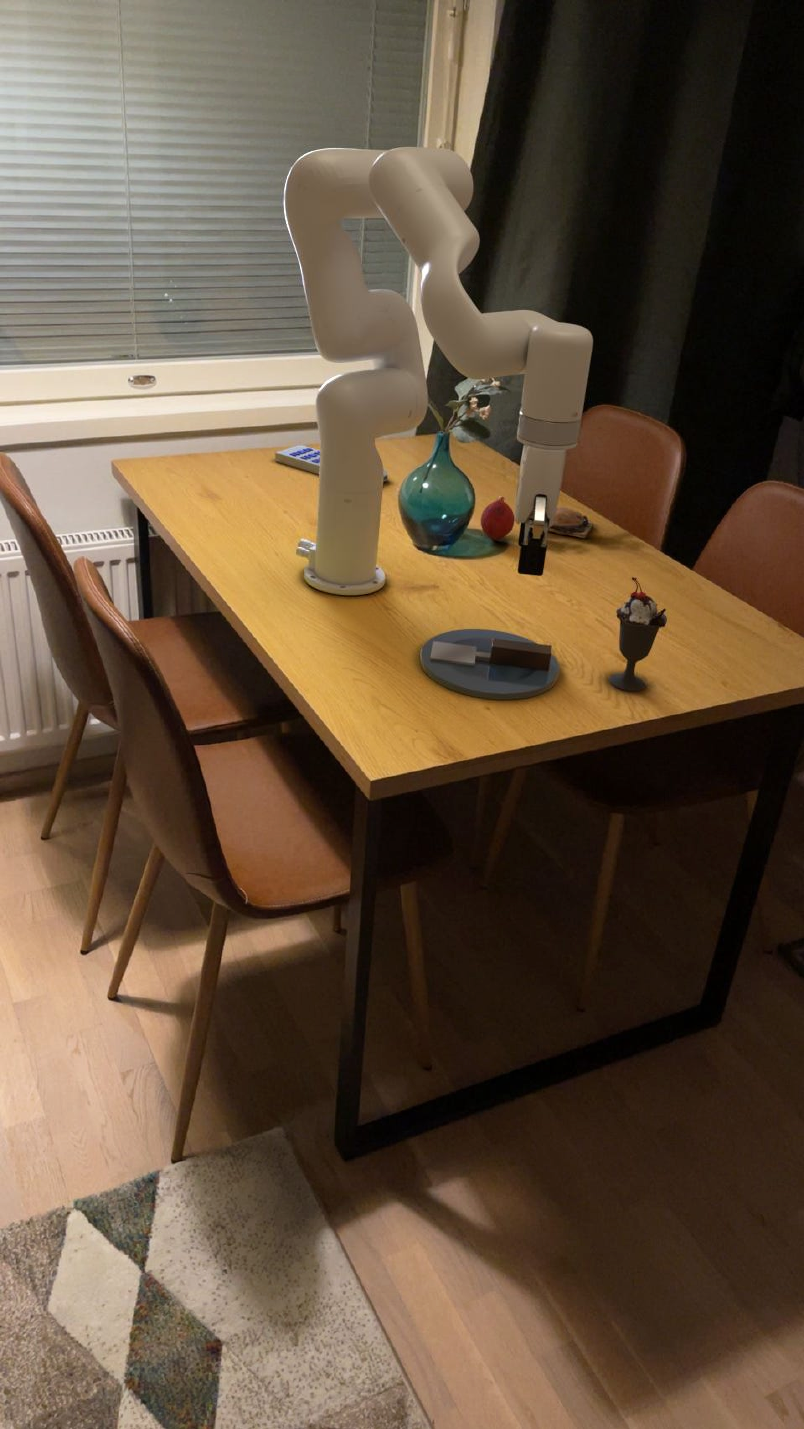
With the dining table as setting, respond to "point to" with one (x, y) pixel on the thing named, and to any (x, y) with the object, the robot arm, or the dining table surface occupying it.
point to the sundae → (636, 636)
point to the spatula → (495, 654)
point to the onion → (497, 519)
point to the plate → (487, 668)
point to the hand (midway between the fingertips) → (529, 560)
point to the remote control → (304, 459)
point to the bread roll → (570, 523)
